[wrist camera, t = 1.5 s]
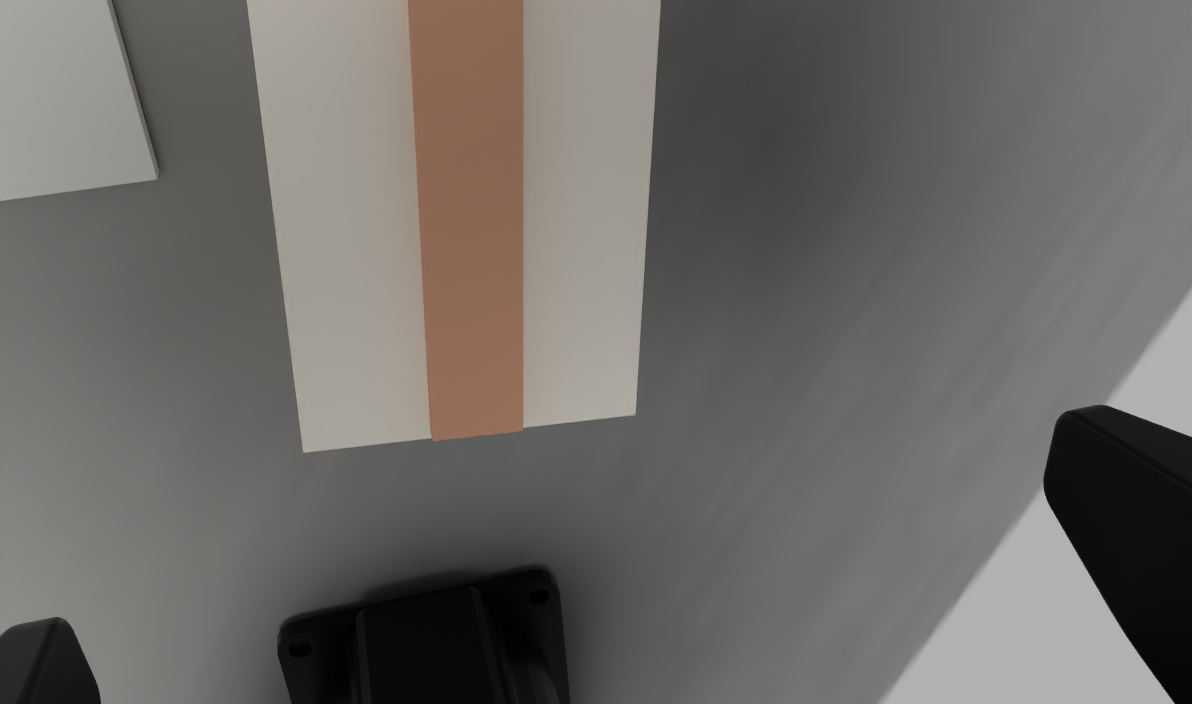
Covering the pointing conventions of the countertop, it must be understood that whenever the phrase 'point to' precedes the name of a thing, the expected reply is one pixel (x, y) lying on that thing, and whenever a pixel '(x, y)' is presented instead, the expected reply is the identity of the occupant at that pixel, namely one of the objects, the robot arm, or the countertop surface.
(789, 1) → the countertop surface
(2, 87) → the mat
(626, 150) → the card box
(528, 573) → the robot arm
